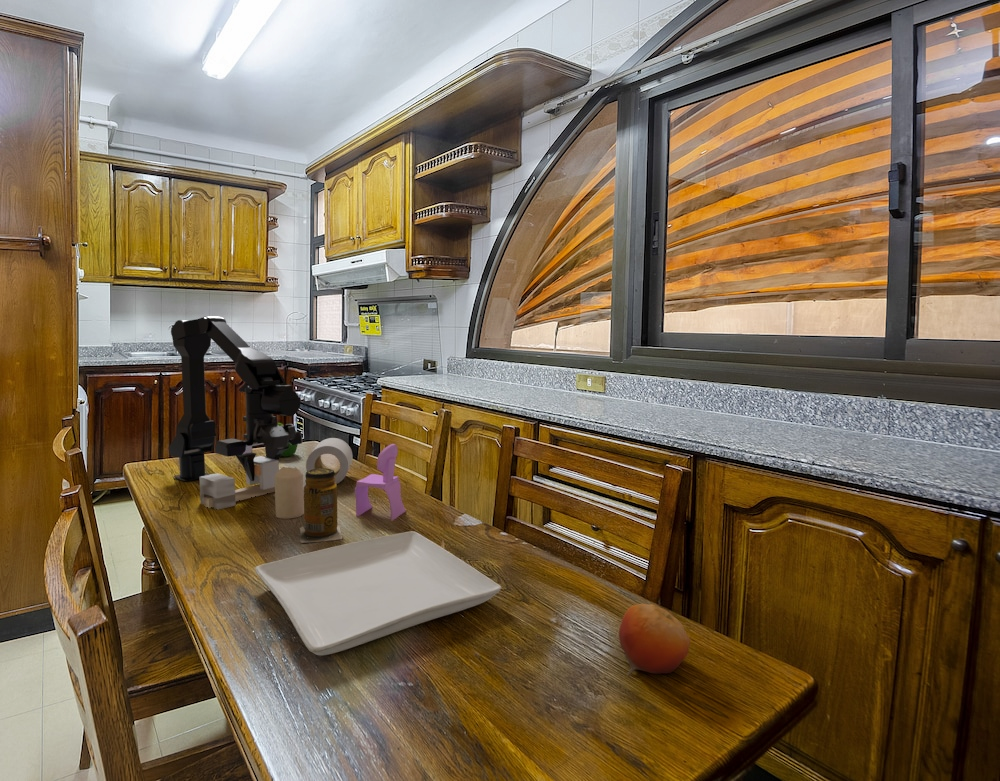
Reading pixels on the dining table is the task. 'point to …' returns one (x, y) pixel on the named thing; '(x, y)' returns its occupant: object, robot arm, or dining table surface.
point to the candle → (289, 493)
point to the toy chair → (381, 484)
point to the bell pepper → (291, 449)
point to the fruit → (652, 639)
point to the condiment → (320, 507)
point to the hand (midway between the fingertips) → (261, 478)
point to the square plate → (372, 589)
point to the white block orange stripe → (264, 472)
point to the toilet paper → (334, 448)
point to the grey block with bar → (242, 494)
